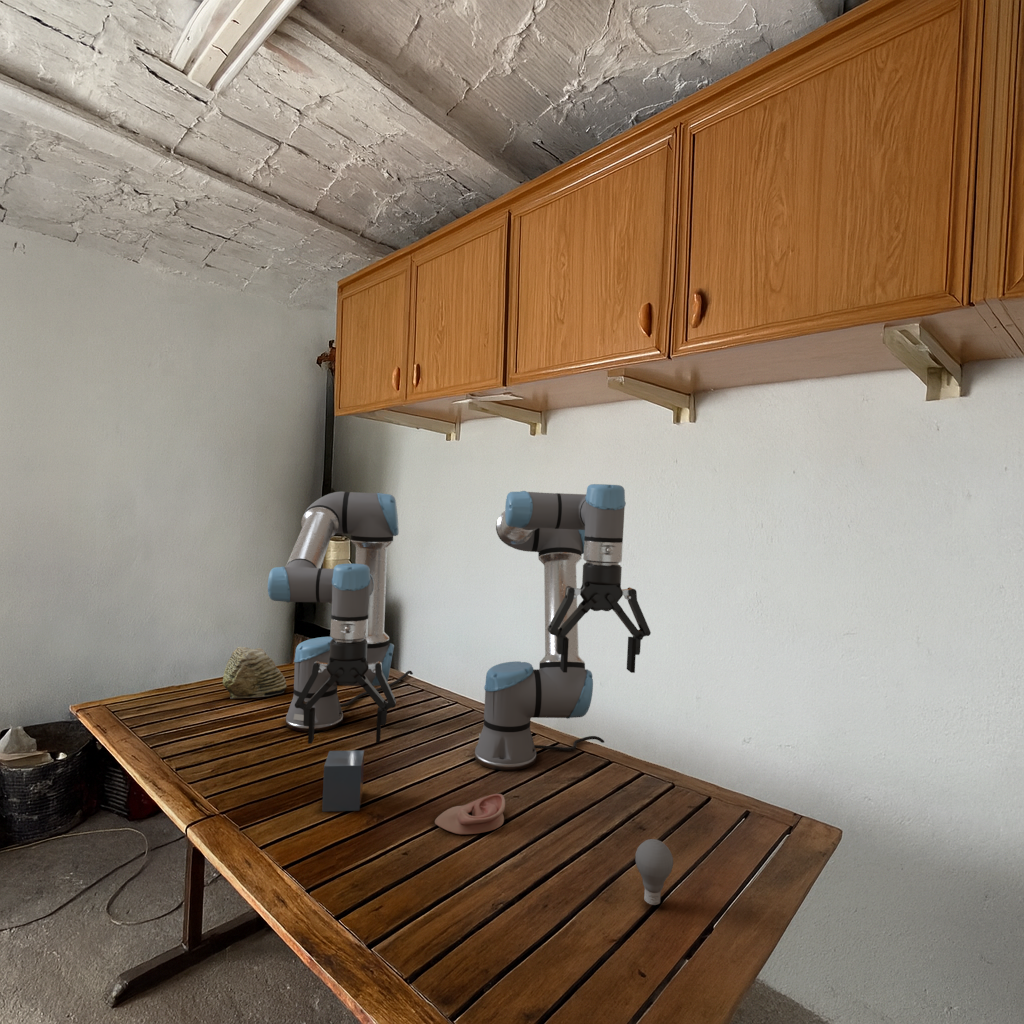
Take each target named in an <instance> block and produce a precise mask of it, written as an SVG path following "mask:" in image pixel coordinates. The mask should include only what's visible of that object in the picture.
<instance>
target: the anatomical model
mask: <svg viewBox="0 0 1024 1024" xmlns="http://www.w3.org/2000/svg"><path fill="white" fill-rule="evenodd" d="M505 809H506V799H505V796H504V795H503V794H501V793H493V794H490V795H485V796H482V797H480V798H478V799H476V800H473V801H471V802H469V803H465V804H463V805H456V806H452V807H450V808H448V809H446V810H445V811H442V813H440V814H439V815H438V816H437V817H436V818H435V820H434V824H435V825H436V826H438V827H439V828H441V829H443V830H445V831H447V832H450V833H451V834H456V835H473V834H475V835H476V834H482V833H487V832H491V831H494V830H496V829H499V828H500V827H501V826H502V825H504V822H505V816H504V811H505Z"/></svg>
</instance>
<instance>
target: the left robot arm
mask: <svg viewBox="0 0 1024 1024" xmlns="http://www.w3.org/2000/svg"><path fill="white" fill-rule="evenodd" d="M398 516H399V515H398V508H397V501H396V498H395V496H394V495H392V494H390V493H384V492H383V493H382V492H358V491H357V492H355V491H334V492H330V493H328V494H325V495H323V496H321V497H320V498H318V499H316V500H315V501H314V502H312V503H311V504H310V505H309V506H308V507H307V508H306V509H305V510H304V513H303V515H302V517H301V520H300V521H301V522H300V525H301V529H300V532H299V534H298V536H297V539H296V541H295V543H294V546H293V547H292V551H291V553H290V556H289V557H288V559H287V562H286V564H285V566H284V565H283V566H275V567H273V568H271V569H270V570H269V574H268V579H267V595H268V597H269V599H270V600H271V601H274V602H283V603H327V604H329V603H330V604H331V616H330V632H329V633H330V634H329V636H321V637H315V638H310V639H307V640H304V641H302V642H300V643H298V645H296V648H295V654H294V660H293V662H294V672H293V673H294V674H293V695H292V696H293V697H292V699H291V702H290V704H289V708H288V711H287V713H286V715H285V726H286V728H287V729H289V730H291V731H294V732H295V731H296V732H301V733H308V735H307V744H308V745H312V744H313V742H314V740H315V733H316V732H325V731H329V730H332V729H335V728H337V727H339V726H340V725H342V723H343V722H344V714H343V709H342V708H345V707H348V706H351V705H352V704H353V703H354V702H356V701H357V700H358V699H360V698H362V697H365V696H368V695H369V697H370V698H371V699H372V701H374V703H375V704H376V705H377V706H378V707H377V712H376V734H375V743H376V744H380V743H381V742H380V741H381V735H382V734H381V731H382V726H386V725H387V720H388V710H389V709H391V708H392V709H393V708H396V705H397V700H396V698H395V695H394V692H393V691H392V689H391V687H393V686H396V685H397V684H399V683H400V682H401V681H402V680H403V679H405V678H406V677H408V675H411V676H412V675H414V672H413V671H412V670H407V671H406V672H405V673H404V674H402V675H401V676H400V677H399V678H397V679H396V680H395V681H392V682H390V683H389V682H388V681H389V677H390V672H391V665H392V660H393V654H394V648H395V645H394V644H393V643H391V642H390V636H389V635H388V634H387V633H386V632H385V620H386V619H385V617H386V614H385V613H386V593H387V592H386V589H387V567H388V565H387V563H388V548H389V546H390V545H392V544H393V543H394V537H397V536H398V535H400V534H399V533H400V531H399V517H398ZM336 534H344V535H350V542H351V543H352V544H353V546H355V563H339V564H336V565H335V566H334V567H333V568H324V567H322V566H323V562H324V560H325V557H326V553H327V550H328V547H329V545H330V542H331V538H333V537H334V536H335V535H336ZM379 686H380V687H379ZM338 687H362V688H363V689H364V692H362V693H359V694H357V695H356V696H354V697H353V698H351V699H350V700H348V701H347V702H344V703H341V702H340V699H339V695H338ZM375 687H378V688H375ZM380 691H382V692H383V694H384V696H385V698H386V699H384V697H383V696H382V695H381V694H380V693H379V692H380Z"/></svg>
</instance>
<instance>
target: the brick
mask: <svg viewBox="0 0 1024 1024" xmlns="http://www.w3.org/2000/svg"><path fill="white" fill-rule="evenodd" d="M364 768H365V750H329V751H328V753H327V757H326V760H325V762H324V765H323V782H322V785H323V786H322V809H321V811H322V813H325V812H326V813H327V812H330V813H331V812H359V811H360V809H361V804H362V798H363V793H364V791H363V790H364Z"/></svg>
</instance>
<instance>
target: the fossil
mask: <svg viewBox="0 0 1024 1024" xmlns="http://www.w3.org/2000/svg"><path fill="white" fill-rule="evenodd" d="M222 676H223V677H222V685H223V687H224V688H225V690H226V691H228V693H229V698H230V699H250V698H264V697H271V696H275V695H281V694H284V693H285V691H286V689H287V687H288V686H287V680H286V678H285V676H284V674H283V673H282V672H281V669H279V668H278V667H277V665H276V663H275V662H274V660H273V659H272V658H271V657H270V656H269V655H268V654H267V653H266V652H265V650H264V649H263V648H260V647H258V648H251V647H247V646H246V647H245V646H238V647H237V648H236V649H235V650H233V651H232V653H231V656H230V657H229V659H228V660H227V663H226V666H225V668H224V671H223V675H222Z"/></svg>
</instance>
